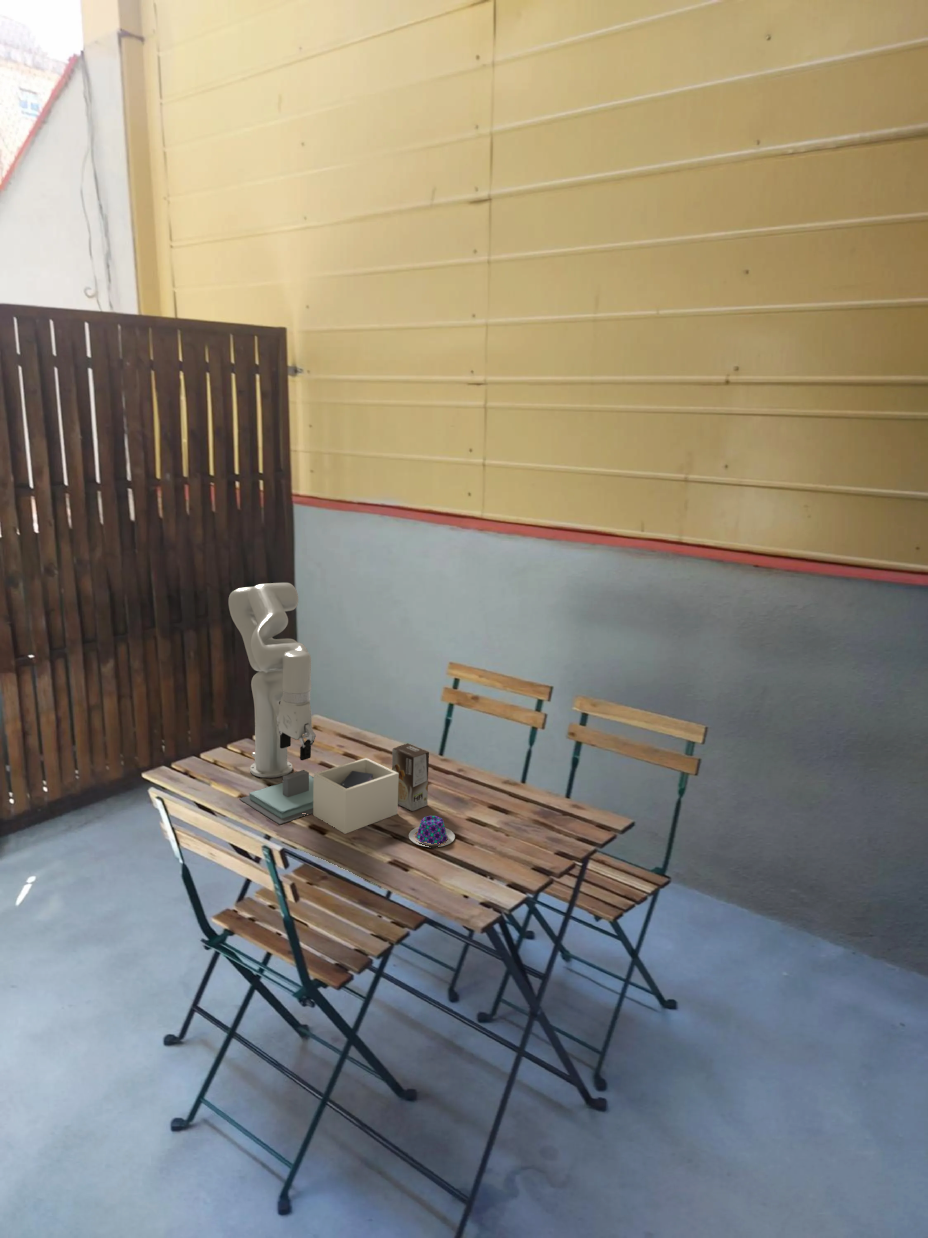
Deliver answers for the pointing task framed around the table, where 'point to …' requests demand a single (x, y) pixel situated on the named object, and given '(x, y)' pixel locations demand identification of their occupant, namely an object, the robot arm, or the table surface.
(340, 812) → the box
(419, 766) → the coffee box
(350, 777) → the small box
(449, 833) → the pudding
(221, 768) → the table surface
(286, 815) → the lid
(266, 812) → the mat
